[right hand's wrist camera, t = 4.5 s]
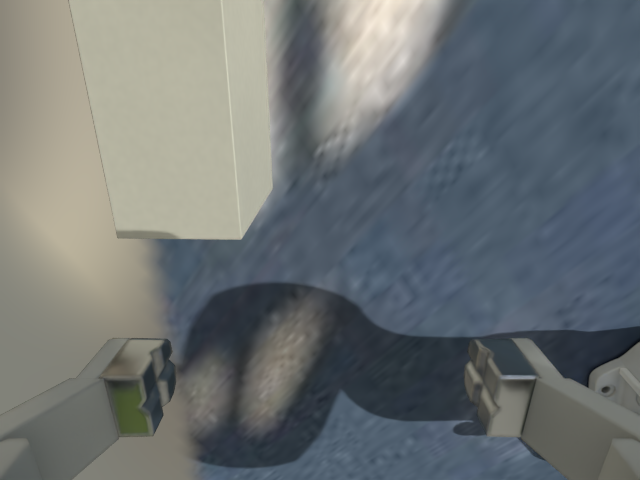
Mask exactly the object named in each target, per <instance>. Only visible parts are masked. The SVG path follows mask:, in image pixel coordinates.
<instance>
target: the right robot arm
mask: <svg viewBox="0 0 640 480" xmlns="http://www.w3.org/2000/svg"><path fill="white" fill-rule="evenodd" d="M172 352H173V351H172V346H171V342H170V341H169V340H168V339H148V338H131V339H130V338H112V339H110V340H108V341H107V342H106V343H105V344H104V346H103V347H102V348H101V349H100V350H99V352H98V353H97V354H96V355H95V356H94V357H93V359H92V360H91V361H90V362H89V363H88V365H87V366H86V367H85V368H84V369H83V371H82V372H81V373H80V374H79V375H78V377H77V378H75V379H68V380H66V381H64V382H62V383H60V384H58V385H56V386H55V387H53V388H51V389H49V390H47V391H45V392H43V393H41V394H39V395H38V396H36V397H34V398H32V399H30V400H28V401H26V402H24V403H22V404H20V405H18V406H17V407H15V408H13V409H11V410H9V411H7V412H5V413H3V414H1V415H0V480H72V479H73V478H74V477H75V476H77V475H78V474H79V473H80V472H81V471H82V470H84V469H85V468H86V467H87V466H88V465H89V464H90V463H92V462H93V461H94V460H95V459H96V458H97V457H99V456H100V455H101V454H102V453H103V452H104V451H106V450H107V449H108V448H109V447H110V446H111V445H112V444H114V443H115V442H116V441H117V440H118V439H119V438H118V437H142V436H153V435H154V433H155V431H156V429H157V427H158V425H159V423H160V421H161V419H162V417H163V410H162V407H163V406H164V405H166V404H167V403H168V402H170V400H171V398H172V396H173V393H174V389H175V385H176V369H175V365H174V364H173V363H172V362H171V361H170V360H169V358H170V356H171V354H172ZM467 352H468V354H469V356H470V358H471V360H470V361H469V362H468V363H467V364H466V365H465V369H464V386H465V390H466V393H467V396H468V398H469V400H470V402H471V403H473V404H474V405H476V406H477V407H478V410H477V417H478V419H479V421H480V423H481V425H482V427H483V429H484V431H485V433H486V435H487V436H496V437H521V439H522V440H523V441H524V442H525V443H527V444H528V445H529V446H530V447H531V448H532V449H533V450H535V451H536V452H537V453H538V454H539V455H540V456H542V457H543V458H544V459H545V460H546V461H547V462H548V463H550V464H551V465H552V466H553V467H554V468H555V469H557V470H558V471H559V472H560V473H561V474H562V475H563V476H565V477H566V478H567V479H568V480H640V342H638V343H637V344H636V345H635V346H633V347H632V348H631V349H630V350H629V351H627V352H626V353H625V354H624V355H622V356H621V357H619V358H617V359H615V360H612V361H610V362H608V363H605V364H603V365H601V366H599V367H597V368H596V369H594V370H593V371H592V372H591V374H590V376H589V388H587V387H585V386H583V385H582V384H580V383H578V382H576V381H574V380H572V379H565V378H563V376H562V375H561V374H560V373H559V372H558V371H557V369H556V368H555V367H554V366H553V365H552V363H551V362H550V361H549V360H548V359H547V358H546V356H545V355H544V354H543V353H542V352H541V350H540V349H539V348H538V347H537V346H536V344H535V343H534V342H533V341H532V340H531V339H529V338H509V339H471V341H470V343H469V346H468V351H467Z"/></svg>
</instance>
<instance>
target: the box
mask: <svg viewBox="0 0 640 480" xmlns="http://www.w3.org/2000/svg"><path fill="white" fill-rule="evenodd" d="M68 1H69V6H70V11H71V16H72V20H73V25H74V30H75V35H76V40H77V45H78V50H79V55H80V59H81V64H82V69H83V74H84V79H85V84H86V88H87V93H88V98H89V103H90V108H91V113H92V117H93V122H94V127H95V132H96V137H97V141H98V147H99V151H100V156H101V161H102V166H103V171H104V176H105V180H106V185H107V190H108V195H109V200H110V205H111V209H112V214H113V219H114V224H115V229H116V234H117V238H138V239H242V238H243V236H244V234H245V233H246V231H247V229H248V228H249V226H250V225H251V223H252V221H253V220H254V218H255V216H256V215H257V213H258V212H259V210H260V208H261V207H262V205H263V203H264V202H265V200H266V199H267V197H268V195H269V194H270V192H271V190H272V189H273V185H272V165H271V144H270V124H269V103H268V82H267V62H266V41H265V20H264V0H68Z"/></svg>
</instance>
